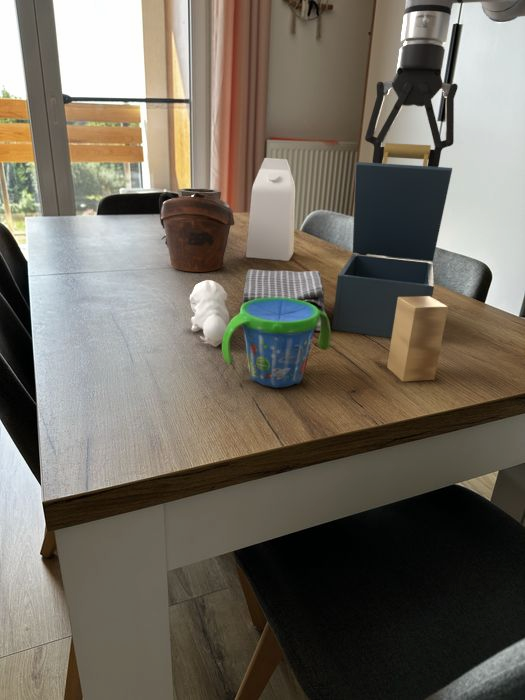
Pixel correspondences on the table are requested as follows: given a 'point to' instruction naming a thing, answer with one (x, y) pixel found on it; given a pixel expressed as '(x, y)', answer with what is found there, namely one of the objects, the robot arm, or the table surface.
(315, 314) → the snack cup
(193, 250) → the brown pot
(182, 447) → the table surface
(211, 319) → the white animal figurine
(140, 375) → the table surface
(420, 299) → the beech block
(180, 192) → the mug
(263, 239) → the milk
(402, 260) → the chest
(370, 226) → the chest lid
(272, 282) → the towel
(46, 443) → the table surface
